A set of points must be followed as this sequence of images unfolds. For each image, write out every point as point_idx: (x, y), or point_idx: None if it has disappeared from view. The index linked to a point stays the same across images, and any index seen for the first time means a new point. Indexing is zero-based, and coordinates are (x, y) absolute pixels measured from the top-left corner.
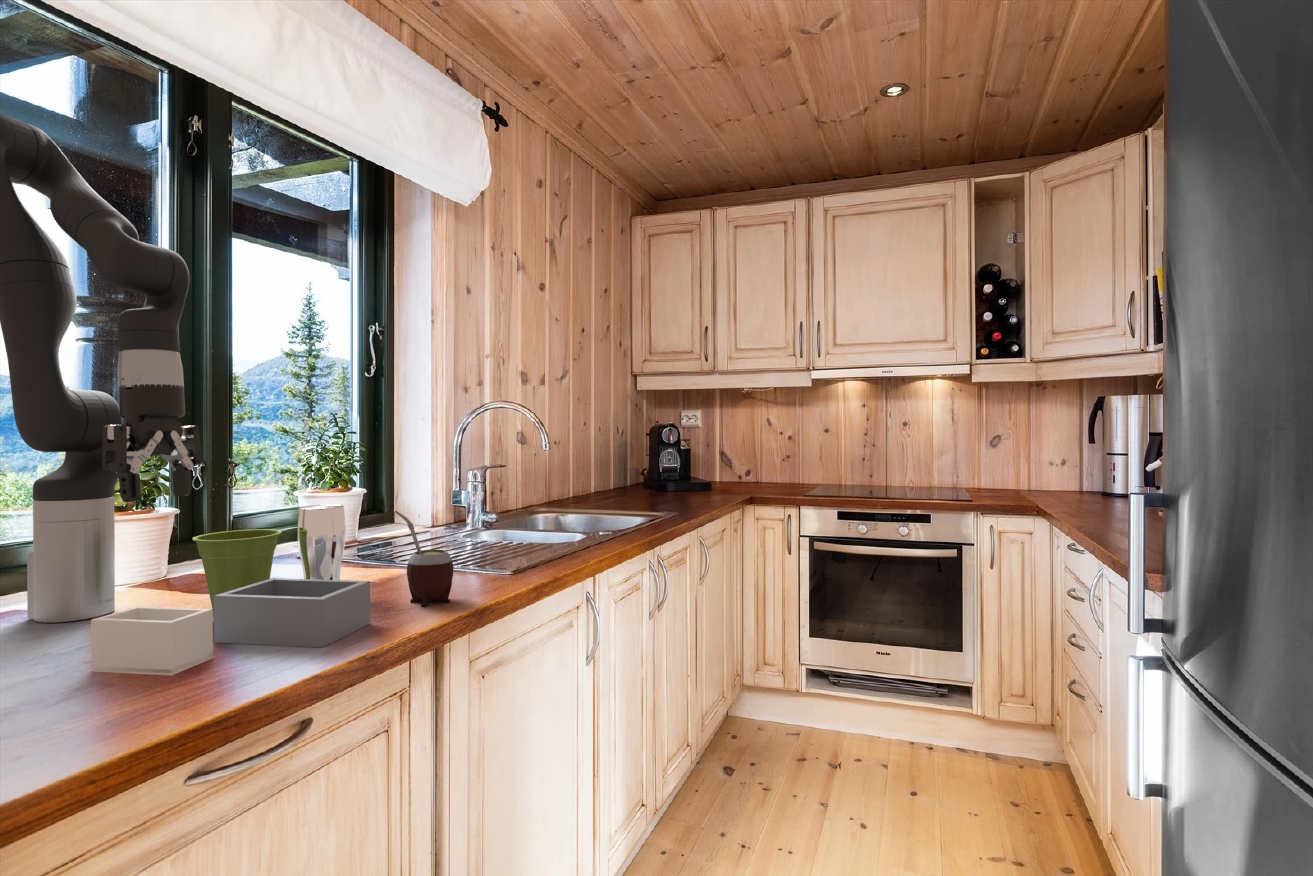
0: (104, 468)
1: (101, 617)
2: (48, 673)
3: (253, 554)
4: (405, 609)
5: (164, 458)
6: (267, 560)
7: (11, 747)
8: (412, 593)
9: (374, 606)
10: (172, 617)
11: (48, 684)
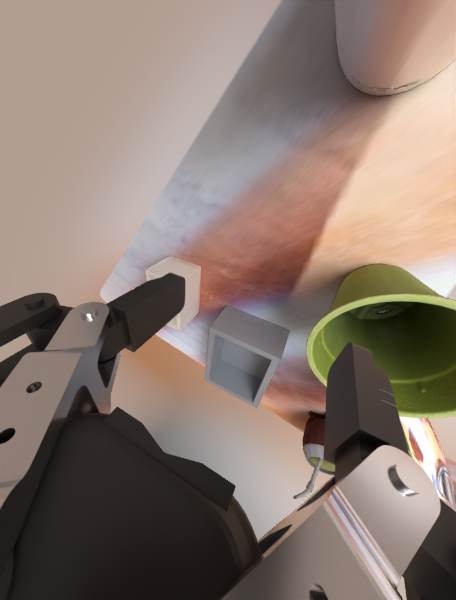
0: (38, 297)
1: (150, 273)
2: (162, 229)
3: (332, 359)
4: (306, 403)
5: (321, 500)
6: None
7: (109, 276)
8: None
9: (324, 391)
10: None
11: (150, 244)
